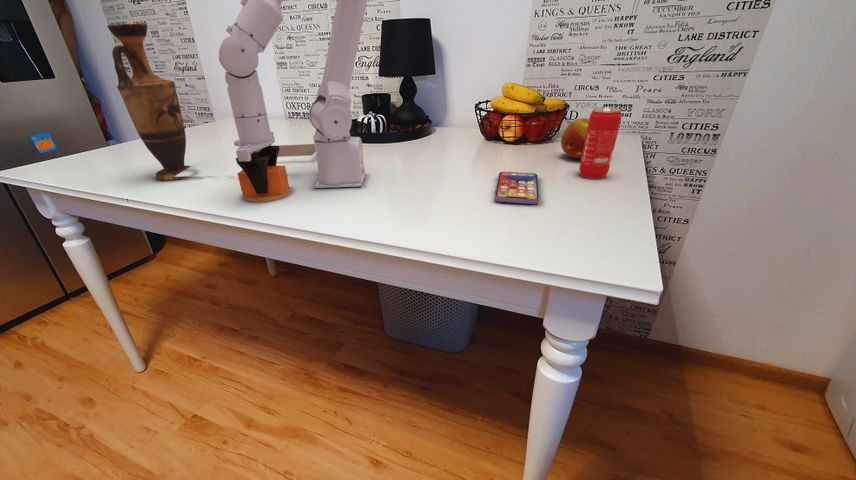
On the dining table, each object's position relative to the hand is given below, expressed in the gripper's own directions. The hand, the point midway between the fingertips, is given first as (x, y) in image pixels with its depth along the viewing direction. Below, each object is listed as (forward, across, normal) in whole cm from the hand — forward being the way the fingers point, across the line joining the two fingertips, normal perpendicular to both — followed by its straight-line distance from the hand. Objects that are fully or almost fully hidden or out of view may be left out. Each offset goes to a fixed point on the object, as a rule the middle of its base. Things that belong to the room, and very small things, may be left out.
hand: (266, 188), depth 78 cm
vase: (+1, -15, -27) cm, 31 cm away
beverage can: (+1, -5, +64) cm, 64 cm away
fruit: (+1, -18, +66) cm, 68 cm away
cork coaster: (+1, 0, 0) cm, 1 cm away
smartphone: (+1, +2, +48) cm, 48 cm away
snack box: (+1, 0, 0) cm, 1 cm away
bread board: (+1, -29, -4) cm, 29 cm away
